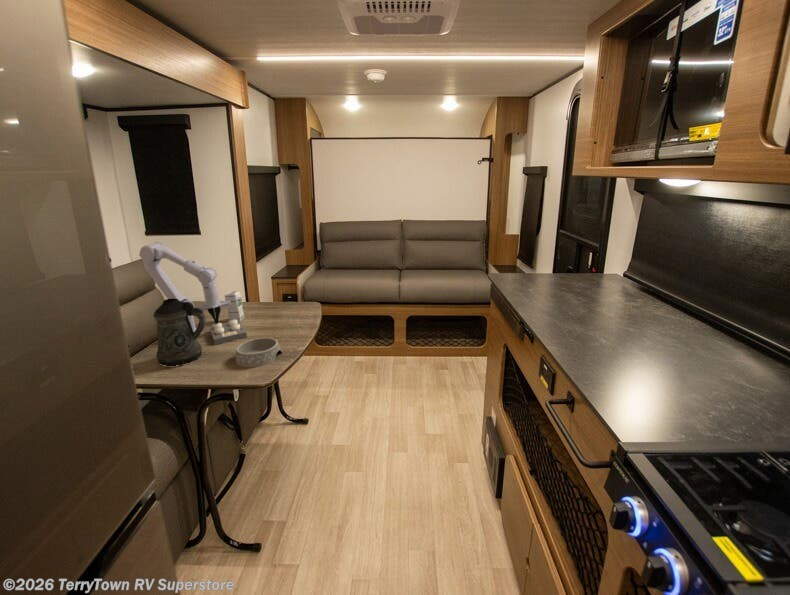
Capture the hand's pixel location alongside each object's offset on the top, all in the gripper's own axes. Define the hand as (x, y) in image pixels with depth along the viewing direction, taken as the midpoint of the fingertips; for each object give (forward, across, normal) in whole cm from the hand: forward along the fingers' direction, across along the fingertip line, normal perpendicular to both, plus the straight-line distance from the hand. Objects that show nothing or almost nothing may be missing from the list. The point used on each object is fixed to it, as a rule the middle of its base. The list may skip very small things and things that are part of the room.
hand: (216, 323), depth 189 cm
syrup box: (+5, +10, +14) cm, 18 cm away
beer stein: (+5, -16, -20) cm, 26 cm away
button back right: (+3, +7, 0) cm, 8 cm away
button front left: (+3, 0, -7) cm, 8 cm away
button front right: (+4, +7, -7) cm, 11 cm away
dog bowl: (+6, +11, -38) cm, 40 cm away
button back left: (+3, 0, 0) cm, 3 cm away
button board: (+5, +4, -5) cm, 8 cm away
